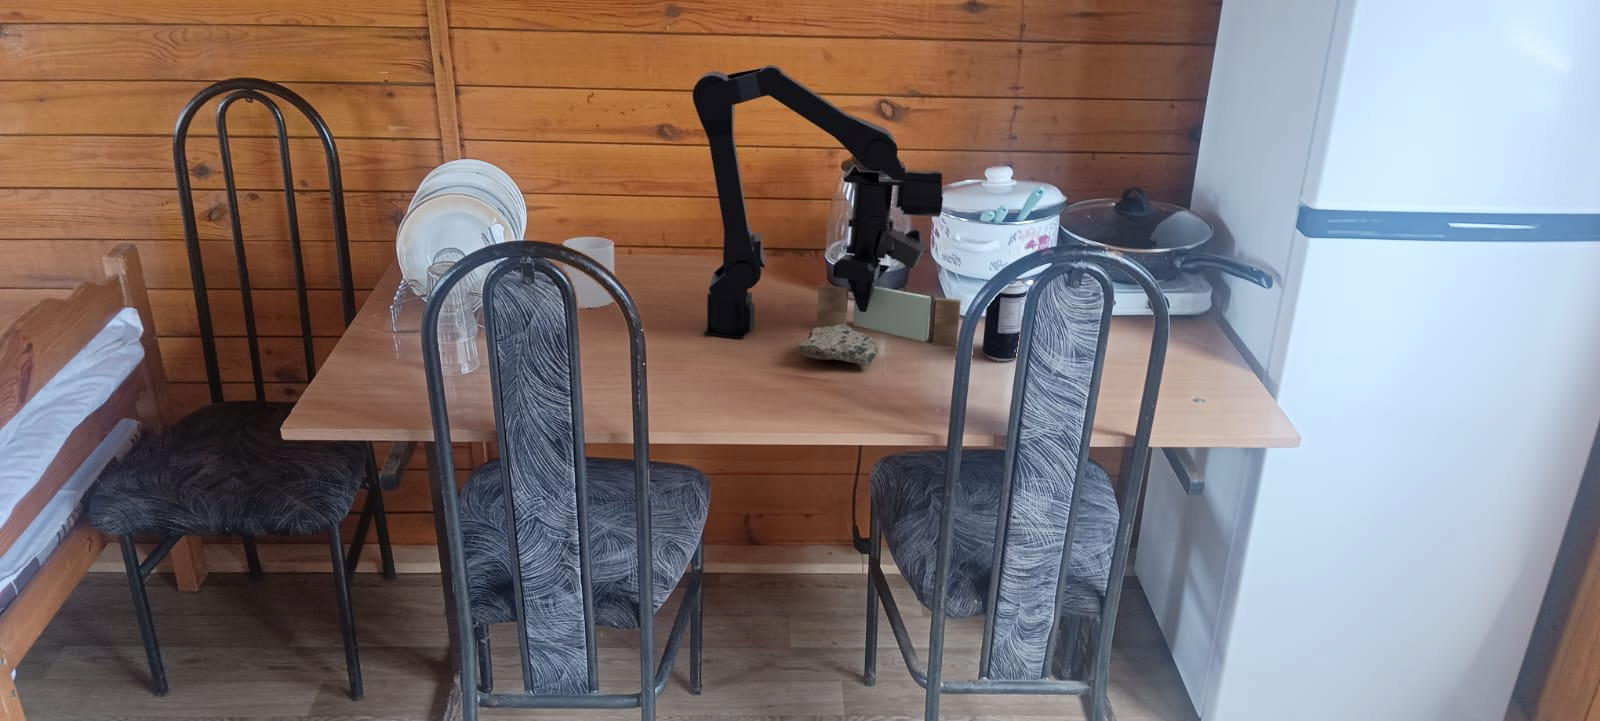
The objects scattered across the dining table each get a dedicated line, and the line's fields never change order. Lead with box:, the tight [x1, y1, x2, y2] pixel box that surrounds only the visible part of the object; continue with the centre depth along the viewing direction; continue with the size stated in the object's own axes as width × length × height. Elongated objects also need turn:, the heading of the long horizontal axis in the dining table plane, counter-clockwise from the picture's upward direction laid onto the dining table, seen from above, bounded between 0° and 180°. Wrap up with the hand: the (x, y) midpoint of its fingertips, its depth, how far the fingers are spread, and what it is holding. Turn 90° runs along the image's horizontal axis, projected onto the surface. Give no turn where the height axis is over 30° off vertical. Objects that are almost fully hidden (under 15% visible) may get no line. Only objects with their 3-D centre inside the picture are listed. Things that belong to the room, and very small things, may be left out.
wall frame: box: [816, 284, 962, 347], centre depth 178 cm, size 22×1×8 cm, turn 75°
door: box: [852, 285, 932, 342], centre depth 179 cm, size 12×1×7 cm, turn 60°
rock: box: [795, 324, 879, 367], centre depth 168 cm, size 11×11×4 cm
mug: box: [561, 236, 615, 310], centre depth 191 cm, size 12×8×10 cm
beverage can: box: [981, 278, 1028, 362], centre depth 171 cm, size 6×6×12 cm
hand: (862, 311), depth 179 cm, fingers closed
